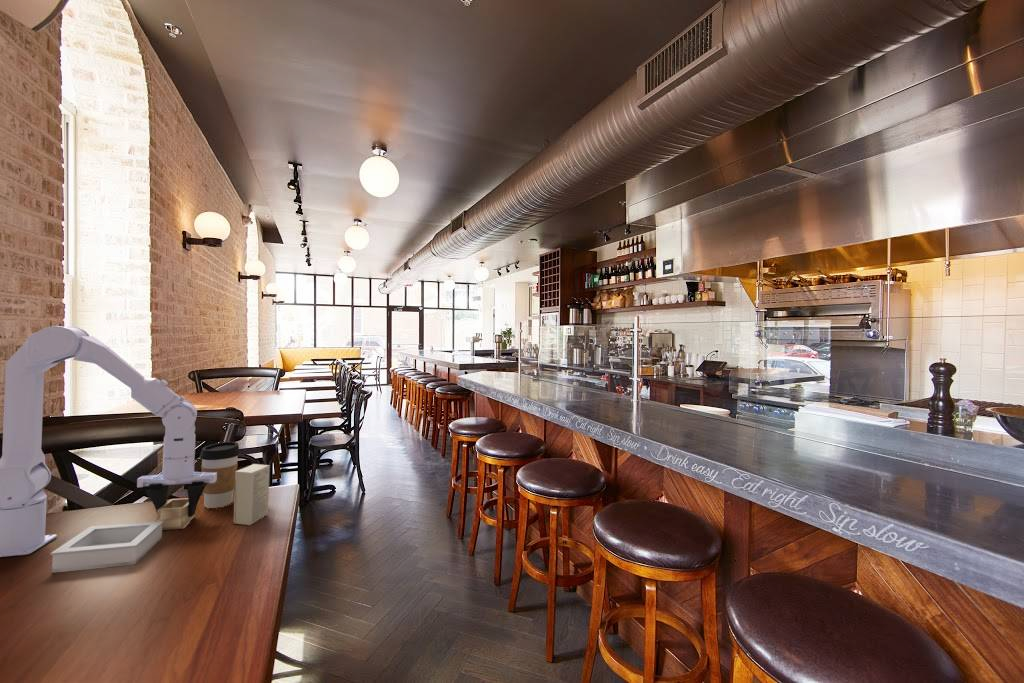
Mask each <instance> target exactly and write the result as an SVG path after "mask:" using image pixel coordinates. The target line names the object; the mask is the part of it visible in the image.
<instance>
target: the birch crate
mask: <svg viewBox="0 0 1024 683" xmlns="http://www.w3.org/2000/svg"><path fill="white" fill-rule="evenodd" d="M188 505H189V501H188V497H186V498H183V497H182V498H172V499H171V498H170V499H169V500H168V501H167V502H166V503H165V504H164V505H163V506H162V507H160V508H159V509H158V510H157V512H156V514H157V515H156V517H157V518H156V521H164V523H163V524H162V531H167V530H168V531H169V530H180V529H185V528H186V527H187V526H188V525H189V524H190V523H191V522H192V521H193V520H194V519H195V518H196V513H195V514H194V515H193V516H192V517H188ZM194 517H195V518H194ZM193 518H194V519H193ZM192 519H193V520H192ZM191 520H192V521H191ZM190 521H191V522H190Z"/></svg>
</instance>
